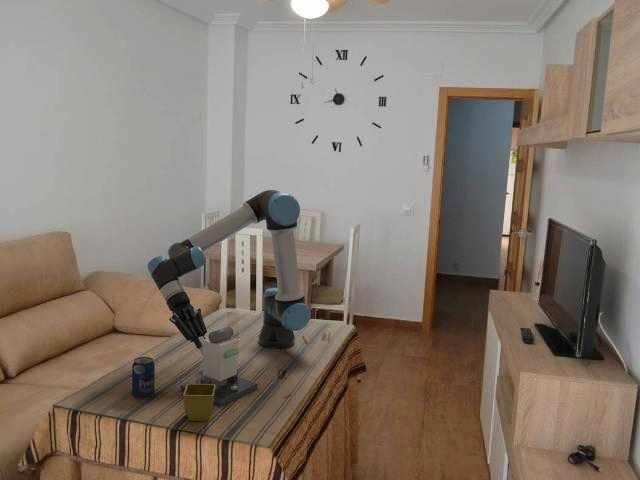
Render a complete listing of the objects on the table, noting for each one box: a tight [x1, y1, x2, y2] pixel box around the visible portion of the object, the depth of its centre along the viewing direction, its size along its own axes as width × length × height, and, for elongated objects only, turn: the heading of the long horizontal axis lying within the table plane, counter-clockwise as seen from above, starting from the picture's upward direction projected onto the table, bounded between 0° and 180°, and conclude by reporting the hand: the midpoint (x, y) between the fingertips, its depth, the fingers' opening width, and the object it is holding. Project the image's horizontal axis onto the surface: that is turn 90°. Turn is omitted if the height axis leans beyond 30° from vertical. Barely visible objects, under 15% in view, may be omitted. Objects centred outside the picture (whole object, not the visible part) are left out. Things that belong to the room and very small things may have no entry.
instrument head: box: [202, 326, 239, 384], centre depth 198 cm, size 10×10×18 cm
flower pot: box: [182, 384, 216, 422], centre depth 179 cm, size 9×9×9 cm
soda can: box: [131, 356, 156, 400], centre depth 192 cm, size 7×7×12 cm
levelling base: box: [179, 368, 259, 408], centre depth 200 cm, size 18×18×6 cm
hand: (207, 354), depth 201 cm, fingers closed
